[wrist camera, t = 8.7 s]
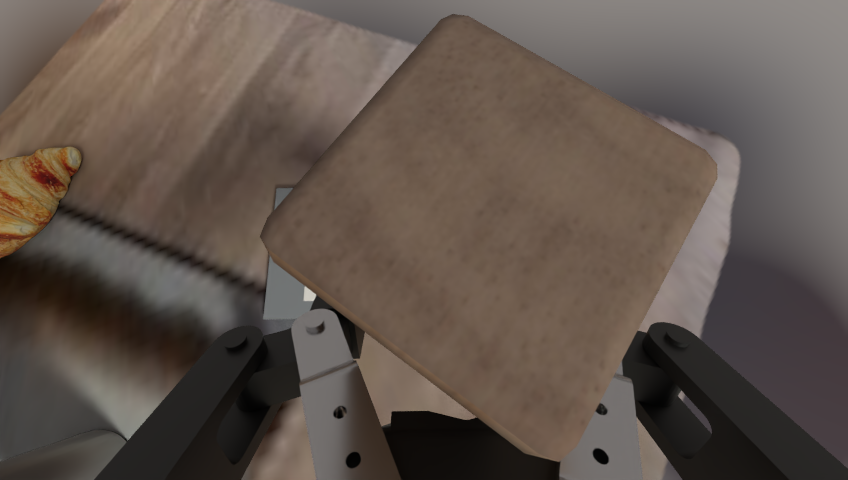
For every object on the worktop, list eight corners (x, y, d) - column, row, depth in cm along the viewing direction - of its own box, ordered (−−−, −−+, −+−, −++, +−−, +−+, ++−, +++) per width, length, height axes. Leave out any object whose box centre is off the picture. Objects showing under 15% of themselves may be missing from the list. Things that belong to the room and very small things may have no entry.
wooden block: (463, 200, 23) (597, -176, 5) (516, 236, 22) (856, -61, 5) (388, 304, 21) (231, 235, 4) (443, 345, 21) (573, 497, 3)
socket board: (268, 319, 37) (262, 319, 36) (280, 191, 41) (275, 187, 40) (404, 317, 37) (403, 317, 36) (404, 190, 41) (403, 185, 40)
